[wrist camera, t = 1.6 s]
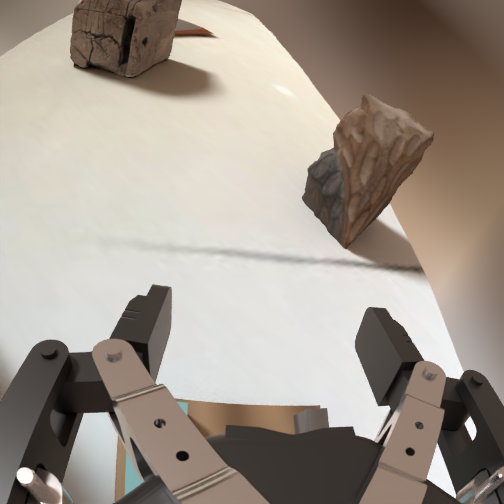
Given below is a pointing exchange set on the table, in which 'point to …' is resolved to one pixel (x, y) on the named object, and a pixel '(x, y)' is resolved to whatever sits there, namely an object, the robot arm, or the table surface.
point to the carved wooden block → (123, 34)
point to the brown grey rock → (364, 167)
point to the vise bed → (221, 414)
